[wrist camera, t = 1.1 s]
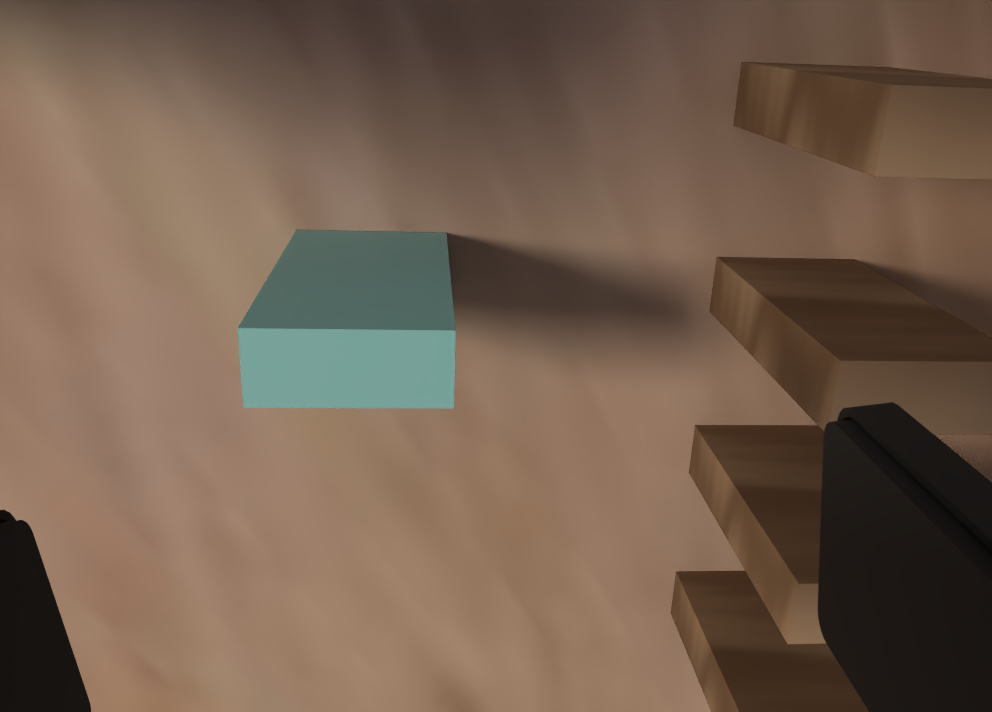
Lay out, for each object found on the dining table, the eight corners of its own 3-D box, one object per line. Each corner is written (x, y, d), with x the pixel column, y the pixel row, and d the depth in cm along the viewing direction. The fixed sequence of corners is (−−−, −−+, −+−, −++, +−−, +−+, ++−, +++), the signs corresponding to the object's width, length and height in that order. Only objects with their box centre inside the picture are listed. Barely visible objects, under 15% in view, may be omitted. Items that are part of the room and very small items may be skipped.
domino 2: (844, 312, 32) (1013, 434, 23) (709, 311, 32) (826, 434, 23) (854, 259, 32) (1033, 362, 22) (716, 257, 31) (840, 360, 22)
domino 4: (789, 611, 37) (911, 812, 28) (670, 613, 37) (755, 818, 27) (796, 570, 36) (925, 762, 27) (676, 571, 36) (764, 767, 26)
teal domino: (445, 289, 31) (453, 408, 22) (298, 287, 30) (243, 407, 21) (446, 232, 30) (455, 330, 21) (296, 229, 30) (237, 328, 20)
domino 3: (815, 472, 35) (958, 640, 25) (688, 472, 34) (787, 644, 25) (823, 425, 34) (974, 581, 25) (695, 425, 34) (798, 583, 24)
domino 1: (878, 129, 30) (1081, 182, 21) (733, 125, 30) (874, 176, 20) (889, 67, 29) (1105, 92, 20) (741, 61, 29) (891, 84, 20)
